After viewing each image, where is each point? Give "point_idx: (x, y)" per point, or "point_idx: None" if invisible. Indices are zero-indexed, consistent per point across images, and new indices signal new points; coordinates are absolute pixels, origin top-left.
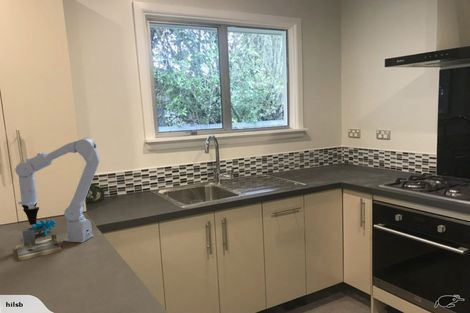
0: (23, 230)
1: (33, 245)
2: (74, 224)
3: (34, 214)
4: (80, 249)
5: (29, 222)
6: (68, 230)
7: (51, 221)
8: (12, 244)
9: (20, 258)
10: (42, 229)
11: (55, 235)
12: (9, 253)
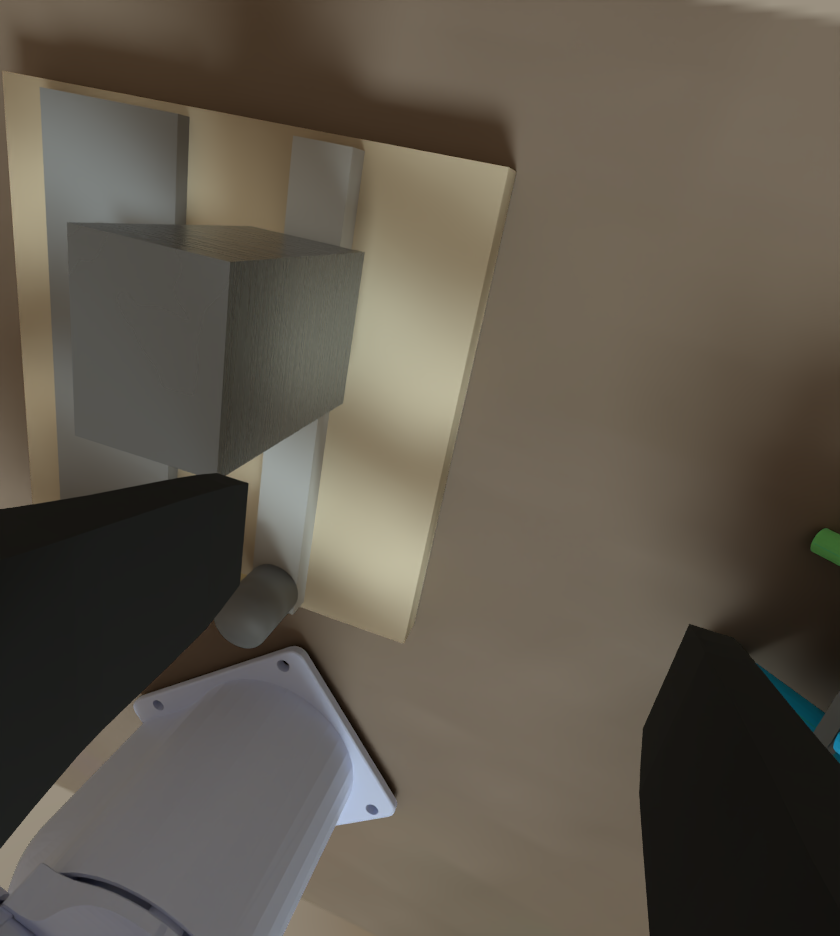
0: (147, 272)
1: None
2: (59, 854)
3: None
4: None
5: (163, 485)
6: (181, 763)
7: None
8: (834, 177)
9: (15, 95)
10: (829, 715)
11: (224, 626)
12: (397, 31)
